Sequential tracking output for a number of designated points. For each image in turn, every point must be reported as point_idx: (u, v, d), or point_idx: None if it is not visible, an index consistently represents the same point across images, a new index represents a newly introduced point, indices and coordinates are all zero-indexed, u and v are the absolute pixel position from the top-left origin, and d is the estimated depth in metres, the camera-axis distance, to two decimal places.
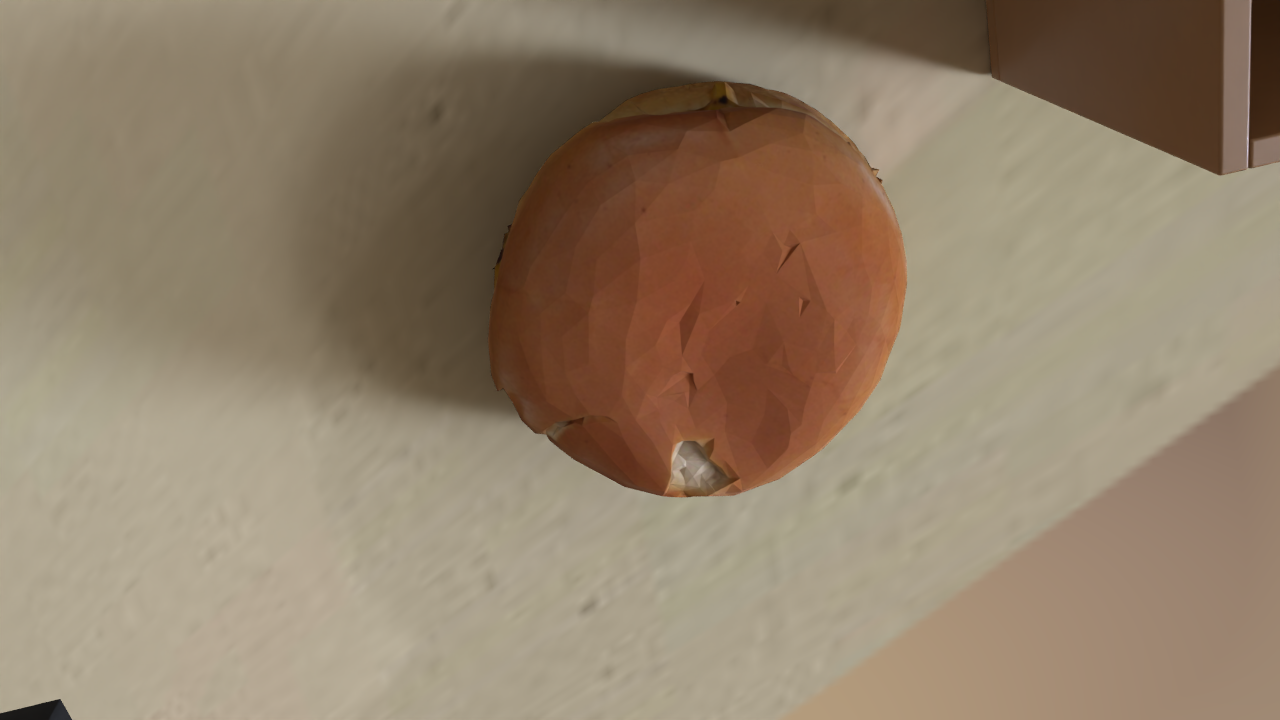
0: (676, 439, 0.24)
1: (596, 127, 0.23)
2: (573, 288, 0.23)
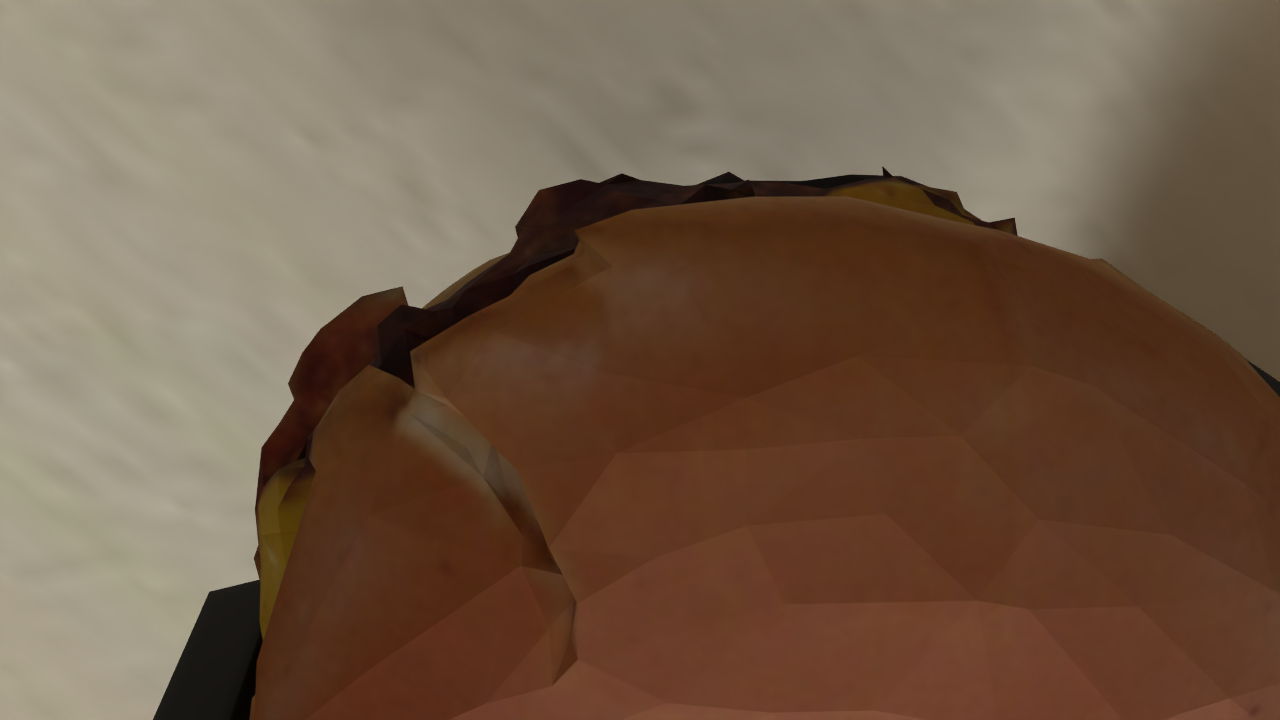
0: None
1: None
2: (1054, 544, 0.07)
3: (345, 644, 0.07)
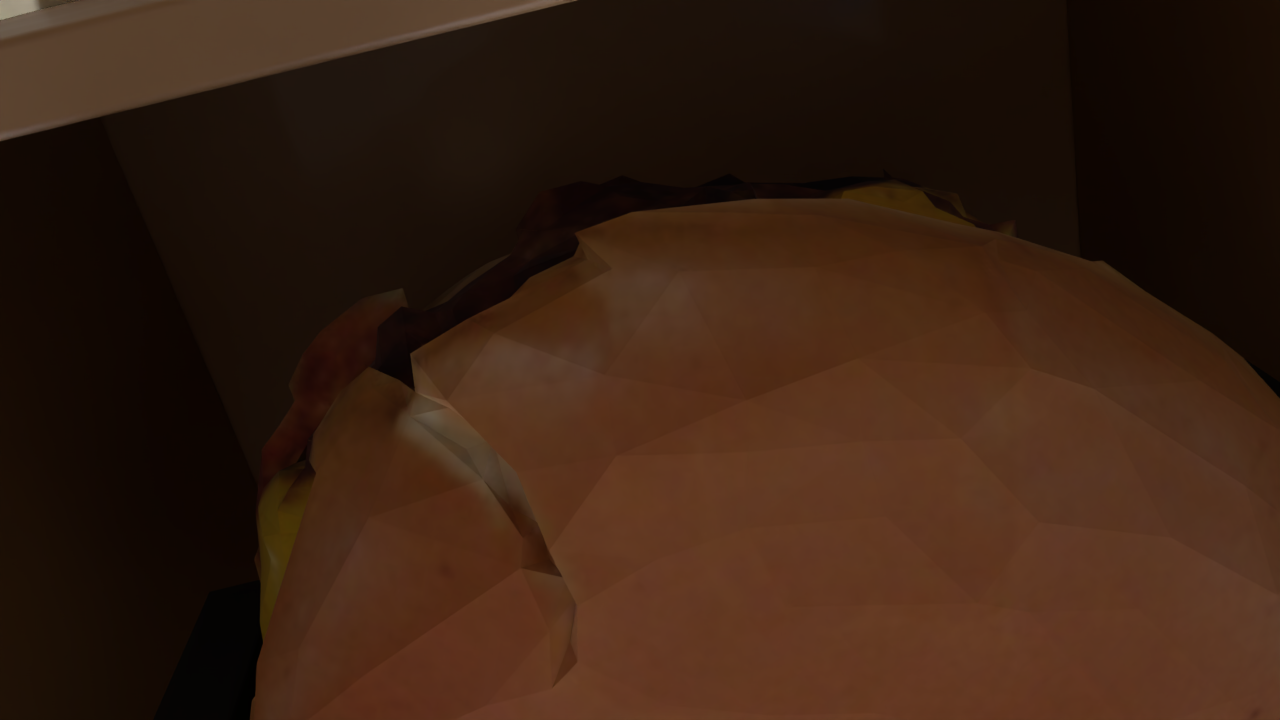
0: None
1: None
2: (1053, 548, 0.07)
3: (345, 646, 0.07)
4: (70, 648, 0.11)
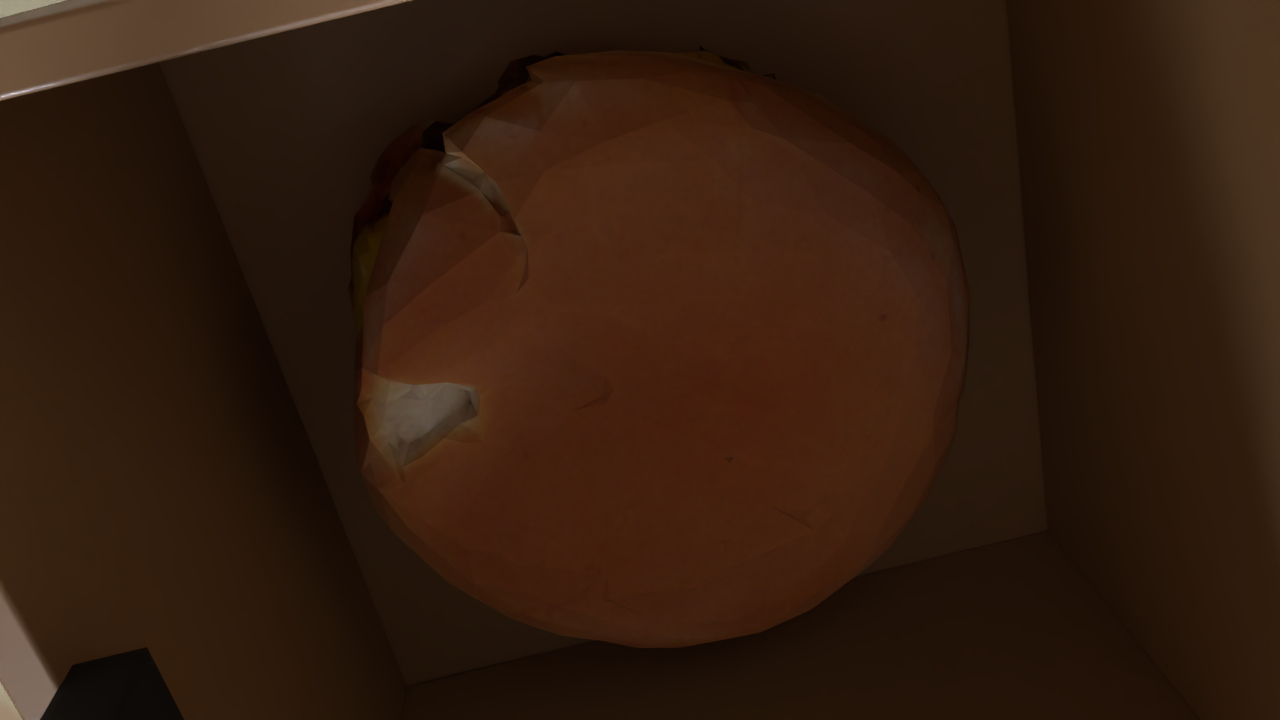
0: (485, 387, 0.15)
1: (952, 220, 0.16)
2: (764, 216, 0.14)
3: (411, 279, 0.14)
4: (158, 509, 0.13)
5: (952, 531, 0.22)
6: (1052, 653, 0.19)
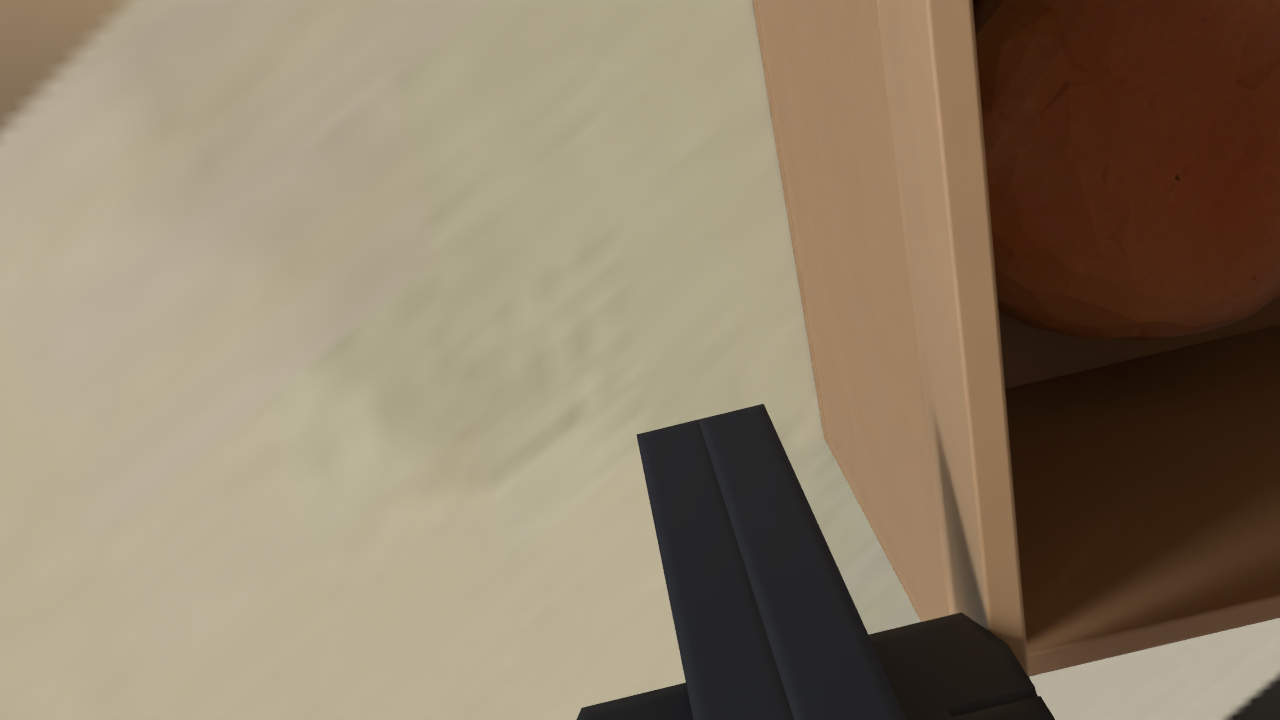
0: None
1: None
2: None
3: None
4: None
5: None
6: None
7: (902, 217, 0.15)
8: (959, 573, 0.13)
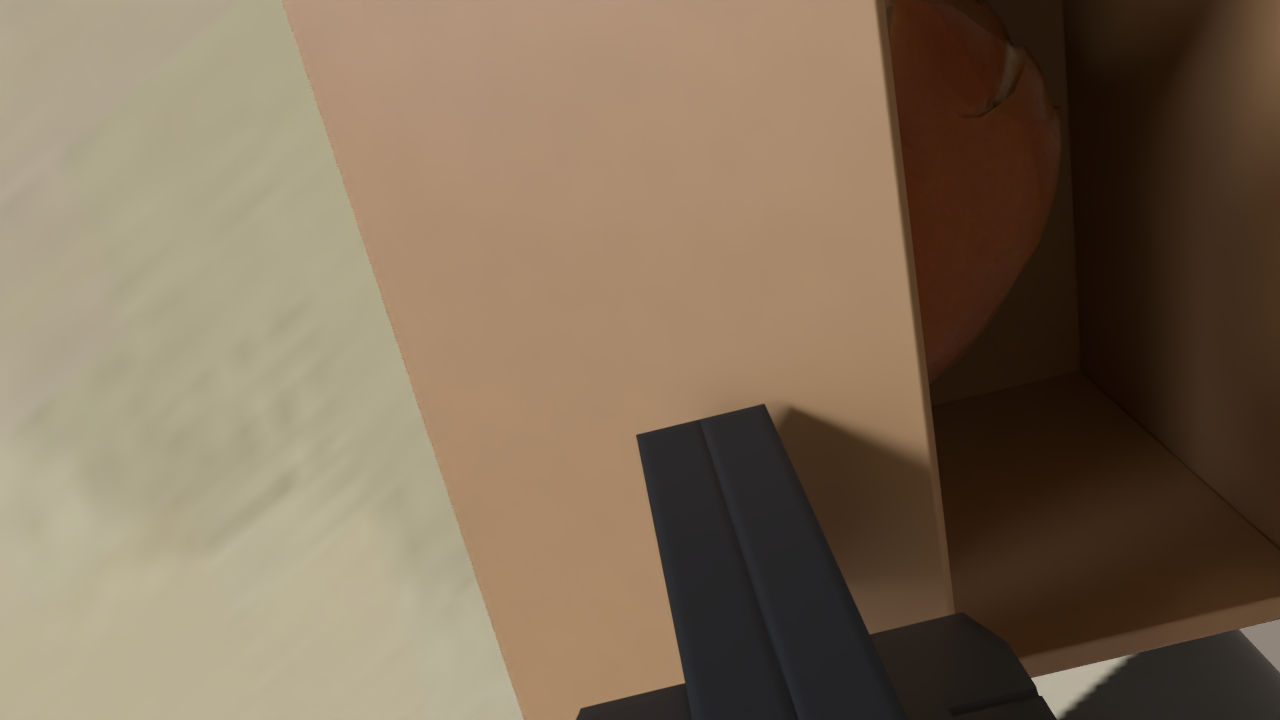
0: None
1: None
2: (980, 276, 0.21)
3: (958, 26, 0.19)
4: None
5: None
6: None
7: (403, 336, 0.14)
8: None
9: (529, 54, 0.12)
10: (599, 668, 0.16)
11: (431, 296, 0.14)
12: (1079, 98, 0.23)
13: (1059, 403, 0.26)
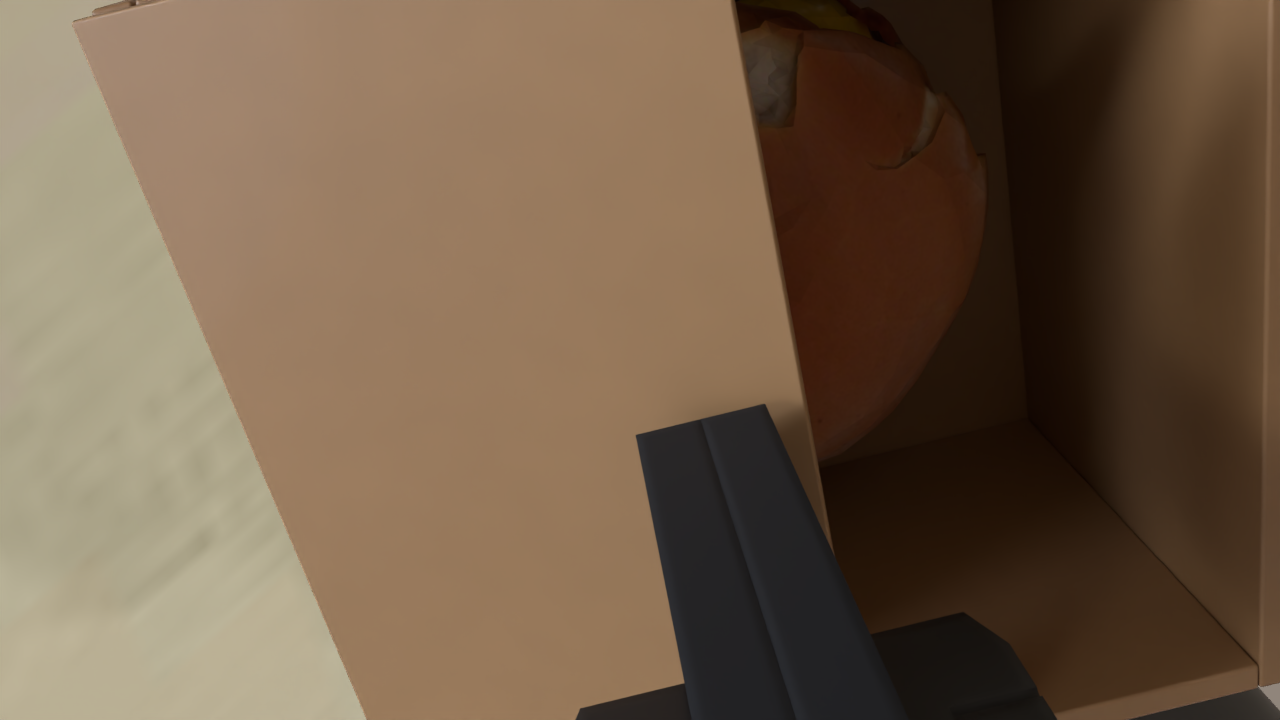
0: (788, 134, 0.18)
1: None
2: (902, 333, 0.20)
3: (870, 75, 0.18)
4: None
5: None
6: None
7: (252, 424, 0.14)
8: (597, 593, 0.14)
9: (389, 113, 0.12)
10: None
11: (285, 376, 0.13)
12: (1014, 140, 0.22)
13: (1002, 453, 0.25)
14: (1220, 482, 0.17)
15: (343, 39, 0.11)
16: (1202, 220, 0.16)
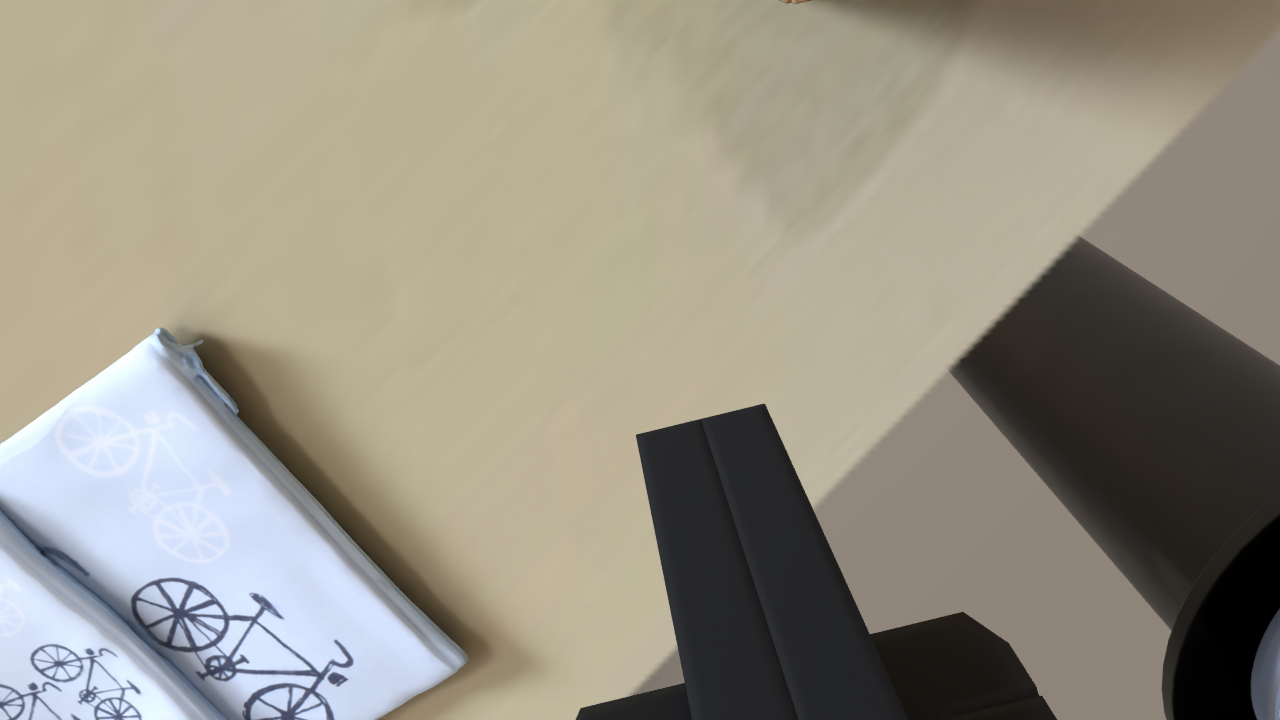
0: None
1: None
2: None
3: None
4: None
5: None
6: None
7: None
8: None
9: None
10: None
11: None
12: None
13: None
14: None
15: None
16: None
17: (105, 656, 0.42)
